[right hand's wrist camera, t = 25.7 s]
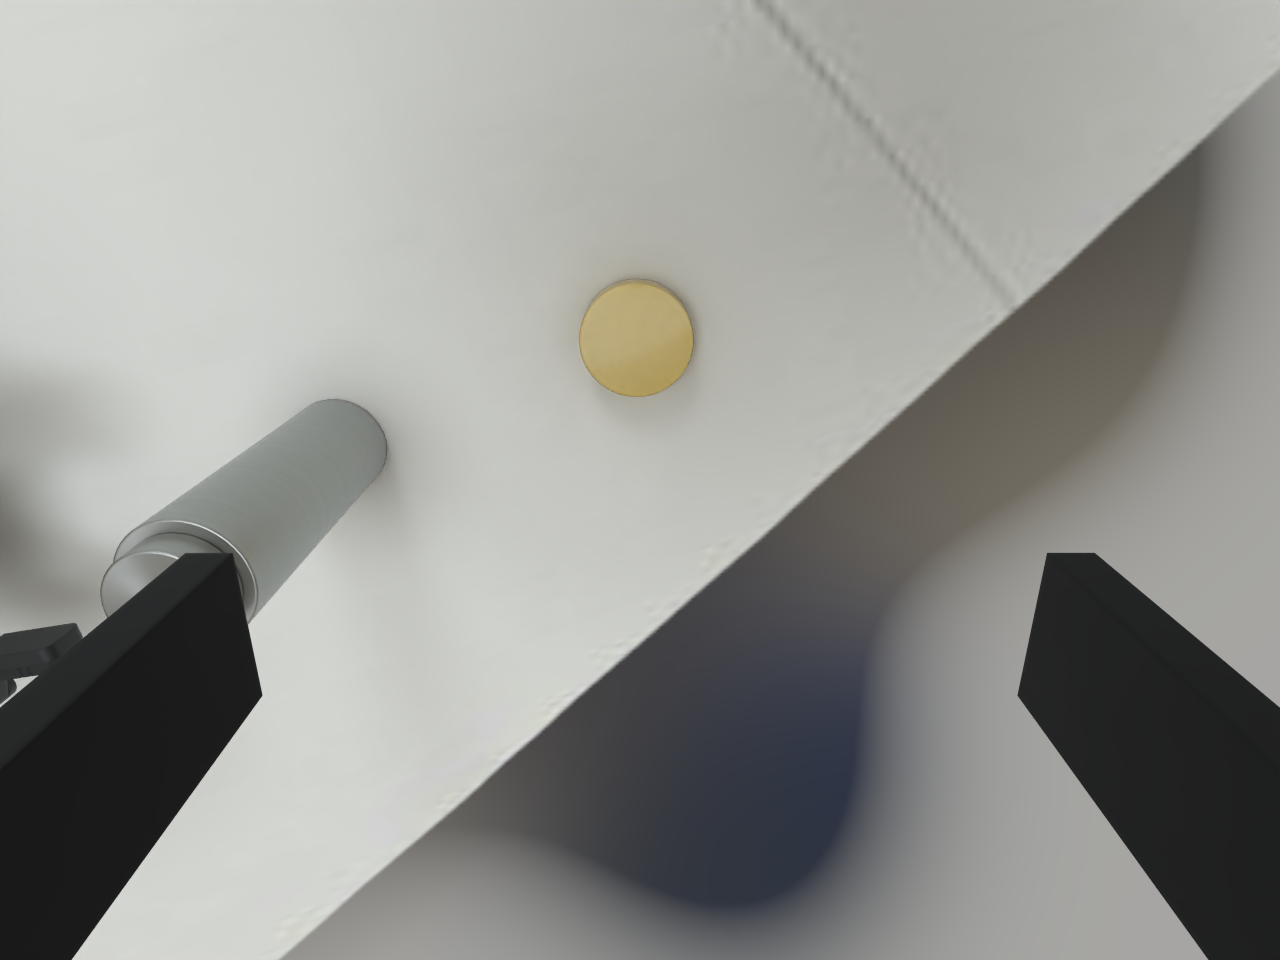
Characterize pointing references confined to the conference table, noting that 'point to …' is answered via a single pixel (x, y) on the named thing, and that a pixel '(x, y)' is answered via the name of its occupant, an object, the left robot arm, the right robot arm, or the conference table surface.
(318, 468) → the grey metal canister
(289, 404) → the conference table surface
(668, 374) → the lid
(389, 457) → the conference table surface
